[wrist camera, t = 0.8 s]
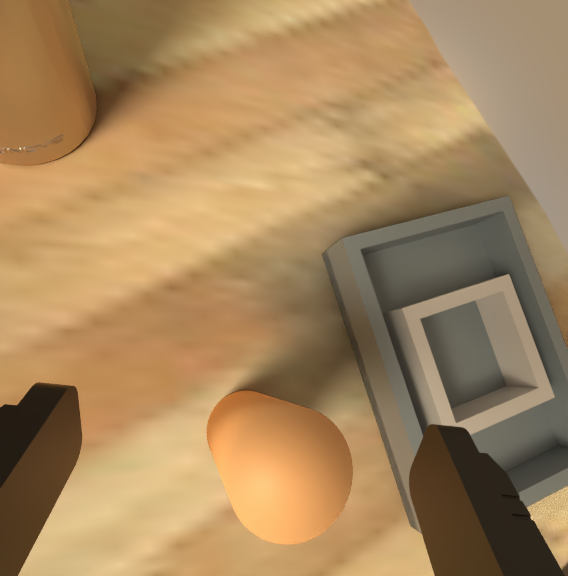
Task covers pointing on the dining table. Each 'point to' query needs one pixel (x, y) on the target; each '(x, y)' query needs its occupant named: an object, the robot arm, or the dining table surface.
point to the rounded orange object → (280, 465)
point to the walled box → (458, 341)
